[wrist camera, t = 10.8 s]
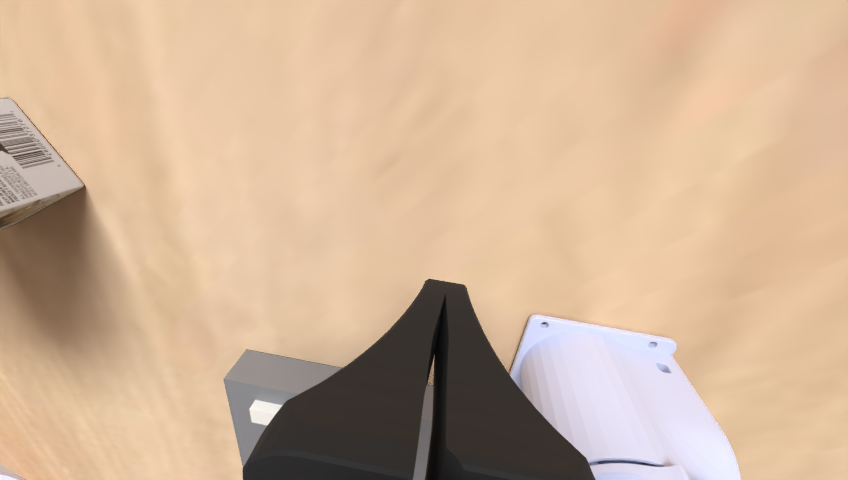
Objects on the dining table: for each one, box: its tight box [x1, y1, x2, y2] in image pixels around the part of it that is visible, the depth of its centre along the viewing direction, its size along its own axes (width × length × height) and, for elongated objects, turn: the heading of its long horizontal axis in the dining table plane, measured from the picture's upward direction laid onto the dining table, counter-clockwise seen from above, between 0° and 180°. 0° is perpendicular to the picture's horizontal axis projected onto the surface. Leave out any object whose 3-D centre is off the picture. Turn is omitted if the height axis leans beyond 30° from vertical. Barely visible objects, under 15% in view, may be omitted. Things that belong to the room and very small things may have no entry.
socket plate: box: [224, 350, 433, 480], centre depth 30 cm, size 18×16×4 cm
